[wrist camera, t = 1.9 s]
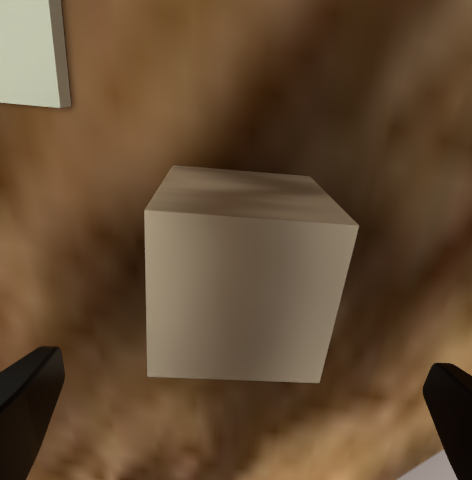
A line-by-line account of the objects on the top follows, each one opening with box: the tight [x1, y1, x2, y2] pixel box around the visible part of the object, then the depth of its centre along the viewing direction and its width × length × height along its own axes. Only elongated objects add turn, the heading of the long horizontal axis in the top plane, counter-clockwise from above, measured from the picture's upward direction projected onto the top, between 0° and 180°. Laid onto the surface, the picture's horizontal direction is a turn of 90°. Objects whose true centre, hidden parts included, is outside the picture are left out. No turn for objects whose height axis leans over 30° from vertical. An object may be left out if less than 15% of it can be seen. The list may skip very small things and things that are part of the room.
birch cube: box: [144, 165, 359, 383], centre depth 13 cm, size 6×6×6 cm
